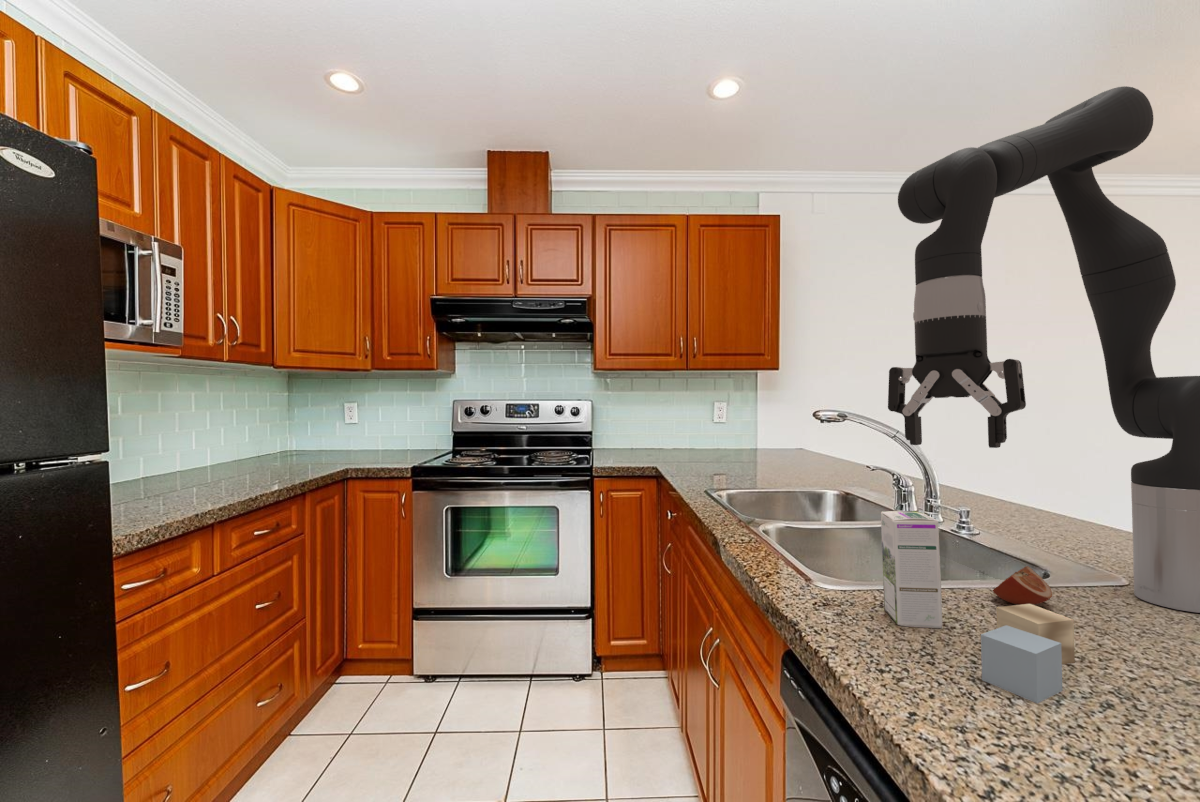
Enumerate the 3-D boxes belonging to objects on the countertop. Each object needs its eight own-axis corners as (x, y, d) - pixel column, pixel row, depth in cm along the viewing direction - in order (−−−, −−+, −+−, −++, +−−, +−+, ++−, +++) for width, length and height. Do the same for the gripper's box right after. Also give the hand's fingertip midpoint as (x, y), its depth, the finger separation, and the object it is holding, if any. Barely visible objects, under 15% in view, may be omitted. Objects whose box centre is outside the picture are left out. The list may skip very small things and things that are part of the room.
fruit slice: (1004, 591, 82) (1003, 559, 82) (1059, 603, 77) (1058, 570, 77) (985, 604, 77) (984, 570, 77) (1043, 618, 72) (1042, 582, 72)
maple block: (1030, 644, 64) (1029, 603, 64) (1074, 663, 59) (1073, 619, 59) (997, 648, 63) (996, 607, 63) (1039, 668, 58) (1038, 624, 58)
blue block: (1007, 669, 58) (1006, 625, 58) (1062, 691, 54) (1061, 643, 54) (981, 680, 56) (980, 634, 56) (1037, 704, 52) (1036, 653, 52)
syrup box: (944, 629, 69) (941, 519, 69) (895, 626, 70) (893, 518, 70) (926, 612, 74) (924, 510, 74) (881, 609, 75) (879, 509, 76)
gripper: (1028, 311, 62) (1032, 446, 62) (900, 327, 73) (903, 442, 73) (1011, 305, 58) (1016, 451, 57) (877, 323, 69) (880, 445, 68)
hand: (953, 445), depth 65 cm, fingers open, 8 cm apart
